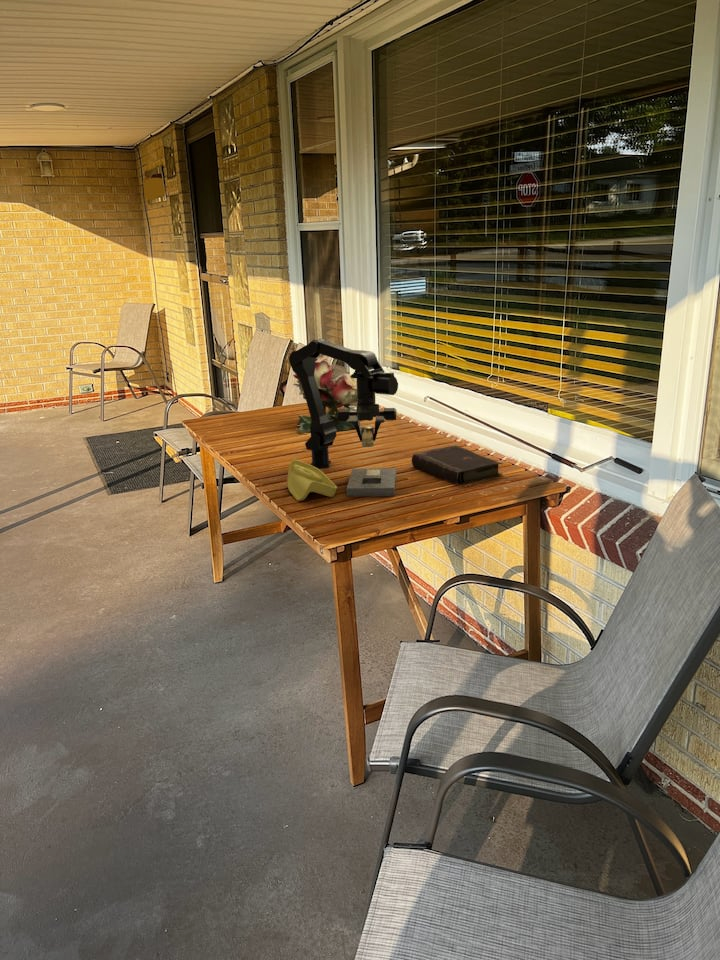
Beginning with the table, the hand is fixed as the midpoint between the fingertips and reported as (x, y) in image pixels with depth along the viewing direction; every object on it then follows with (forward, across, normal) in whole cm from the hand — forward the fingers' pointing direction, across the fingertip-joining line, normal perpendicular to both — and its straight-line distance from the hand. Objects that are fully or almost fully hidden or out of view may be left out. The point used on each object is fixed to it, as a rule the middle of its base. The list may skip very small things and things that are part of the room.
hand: (367, 440), depth 232 cm
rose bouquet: (+11, -22, +68) cm, 72 cm away
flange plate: (+11, +2, -13) cm, 17 cm away
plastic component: (+11, -17, -17) cm, 26 cm away
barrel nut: (+2, 0, 0) cm, 2 cm away
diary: (+12, +28, +1) cm, 31 cm away
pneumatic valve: (+11, -14, +92) cm, 94 cm away
